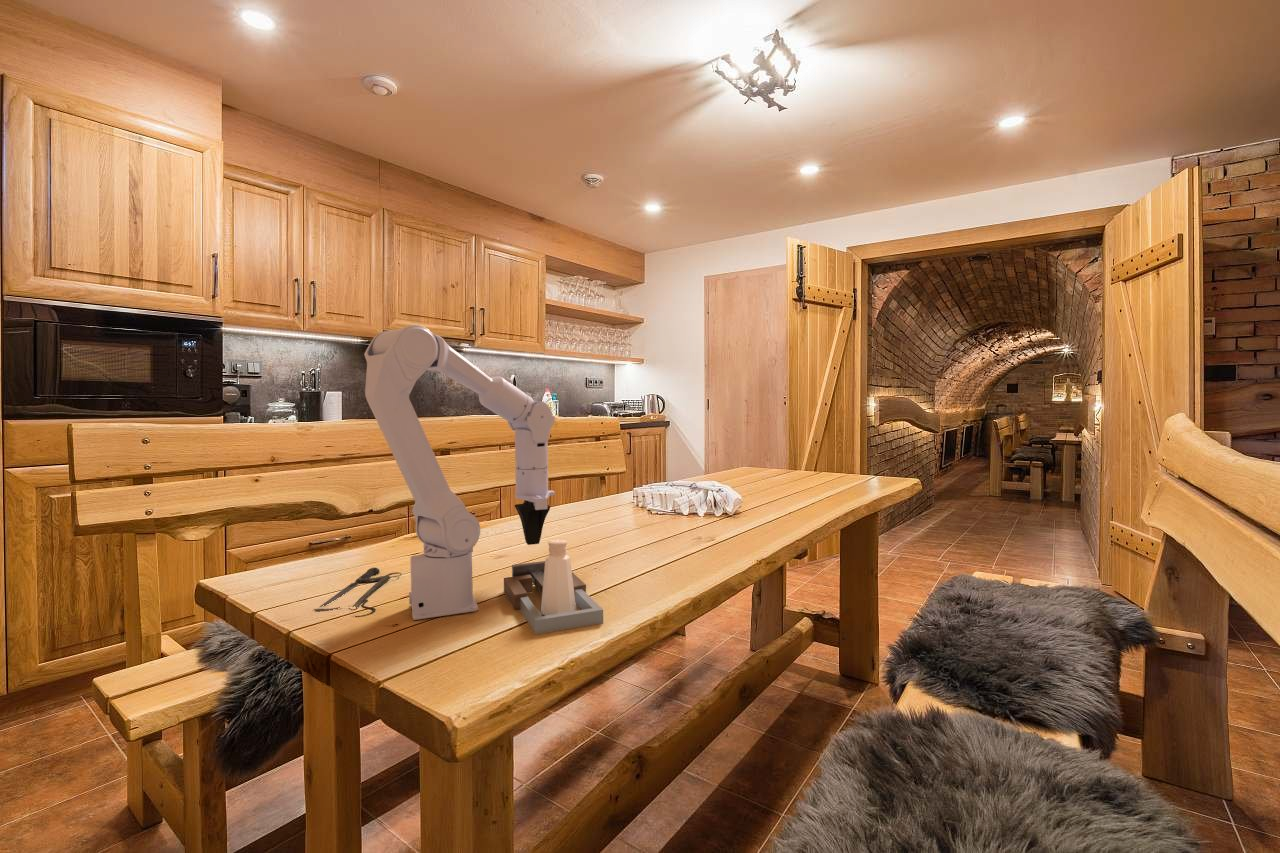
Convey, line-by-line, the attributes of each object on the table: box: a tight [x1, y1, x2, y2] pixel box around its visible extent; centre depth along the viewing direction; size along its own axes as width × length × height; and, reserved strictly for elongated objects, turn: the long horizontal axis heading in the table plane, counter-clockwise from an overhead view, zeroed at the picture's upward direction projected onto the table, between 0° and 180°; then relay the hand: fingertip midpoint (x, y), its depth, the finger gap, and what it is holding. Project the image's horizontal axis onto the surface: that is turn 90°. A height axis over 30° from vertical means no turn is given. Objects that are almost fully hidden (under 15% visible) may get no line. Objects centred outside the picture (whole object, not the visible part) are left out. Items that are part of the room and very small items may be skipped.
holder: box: [503, 571, 587, 611], centre depth 95 cm, size 12×10×2 cm
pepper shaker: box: [540, 538, 577, 616], centre depth 88 cm, size 5×5×11 cm
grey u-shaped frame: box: [519, 589, 604, 635], centre depth 86 cm, size 10×10×2 cm
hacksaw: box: [313, 567, 402, 618], centre depth 99 cm, size 24×10×2 cm, turn 2°
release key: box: [511, 560, 545, 595], centre depth 95 cm, size 8×14×3 cm, turn 23°
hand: (532, 543), depth 102 cm, fingers closed
